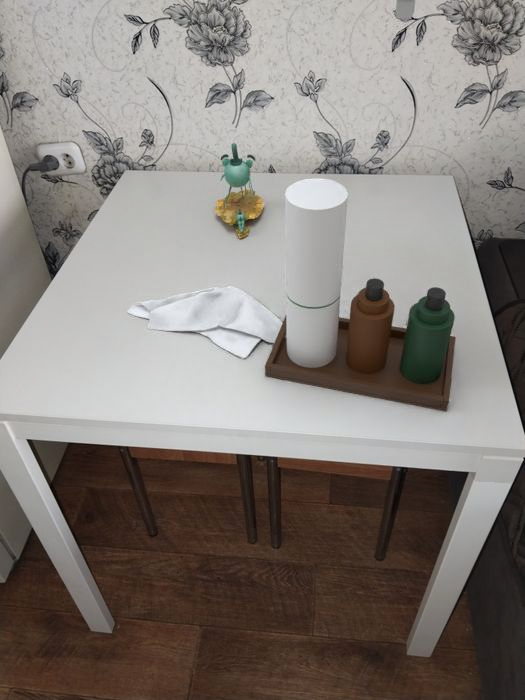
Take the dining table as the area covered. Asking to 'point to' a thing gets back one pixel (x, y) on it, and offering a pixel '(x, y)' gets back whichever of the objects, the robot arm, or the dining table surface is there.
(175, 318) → the cloth
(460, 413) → the dining table surface
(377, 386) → the tray
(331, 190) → the cylindrical container
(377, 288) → the brown bottle
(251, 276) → the dining table surface
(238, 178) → the frog figurine
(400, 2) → the robot arm
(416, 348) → the green bottle
